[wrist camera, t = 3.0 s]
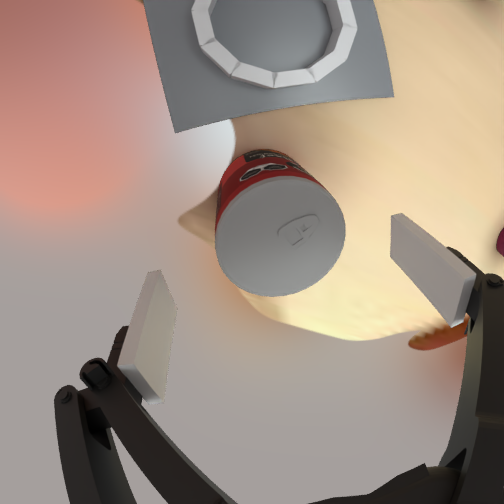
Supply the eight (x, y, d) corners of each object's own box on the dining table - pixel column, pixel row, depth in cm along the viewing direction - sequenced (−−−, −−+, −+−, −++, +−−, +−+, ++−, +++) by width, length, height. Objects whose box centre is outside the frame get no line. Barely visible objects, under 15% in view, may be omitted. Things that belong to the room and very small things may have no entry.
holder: (141, -18, 15) (130, -32, 12) (352, -43, 15) (367, -55, 12) (177, 132, 23) (169, 136, 20) (388, 96, 23) (408, 98, 20)
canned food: (319, 178, 26) (370, 226, 17) (268, 242, 29) (289, 315, 20) (253, 130, 24) (272, 148, 14) (202, 201, 26) (189, 263, 17)
